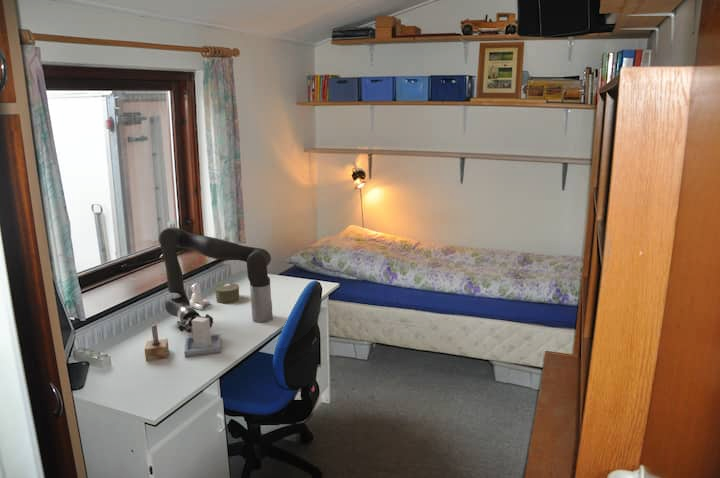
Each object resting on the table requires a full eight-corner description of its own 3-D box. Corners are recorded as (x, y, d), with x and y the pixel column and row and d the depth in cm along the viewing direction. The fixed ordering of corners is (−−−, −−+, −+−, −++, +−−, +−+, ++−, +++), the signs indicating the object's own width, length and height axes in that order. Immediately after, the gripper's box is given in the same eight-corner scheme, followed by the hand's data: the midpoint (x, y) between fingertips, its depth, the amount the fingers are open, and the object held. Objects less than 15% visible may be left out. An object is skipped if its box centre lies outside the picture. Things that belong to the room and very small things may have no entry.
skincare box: (212, 345, 235) (209, 318, 232) (206, 349, 232) (203, 322, 228) (199, 343, 237) (197, 316, 234) (193, 347, 234) (191, 320, 230)
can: (215, 304, 283) (214, 292, 281) (216, 296, 295) (215, 284, 293) (239, 303, 285) (238, 290, 283) (240, 294, 297) (239, 282, 295)
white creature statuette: (201, 310, 276) (199, 287, 273) (185, 309, 277) (183, 286, 274) (210, 303, 285) (208, 281, 282) (195, 302, 286) (192, 280, 283)
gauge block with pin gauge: (168, 349, 233) (165, 320, 230) (166, 358, 226) (163, 328, 223) (148, 352, 232) (144, 322, 228) (145, 360, 224) (142, 330, 221)
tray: (220, 339, 243) (220, 333, 242) (220, 353, 230) (220, 347, 229) (187, 342, 240) (186, 337, 239) (184, 357, 226) (184, 351, 226)
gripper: (171, 311, 243) (182, 323, 229) (203, 304, 250) (216, 315, 237) (173, 327, 244) (184, 340, 231) (205, 320, 252) (217, 332, 239)
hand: (200, 328), depth 234 cm, fingers open, 8 cm apart
